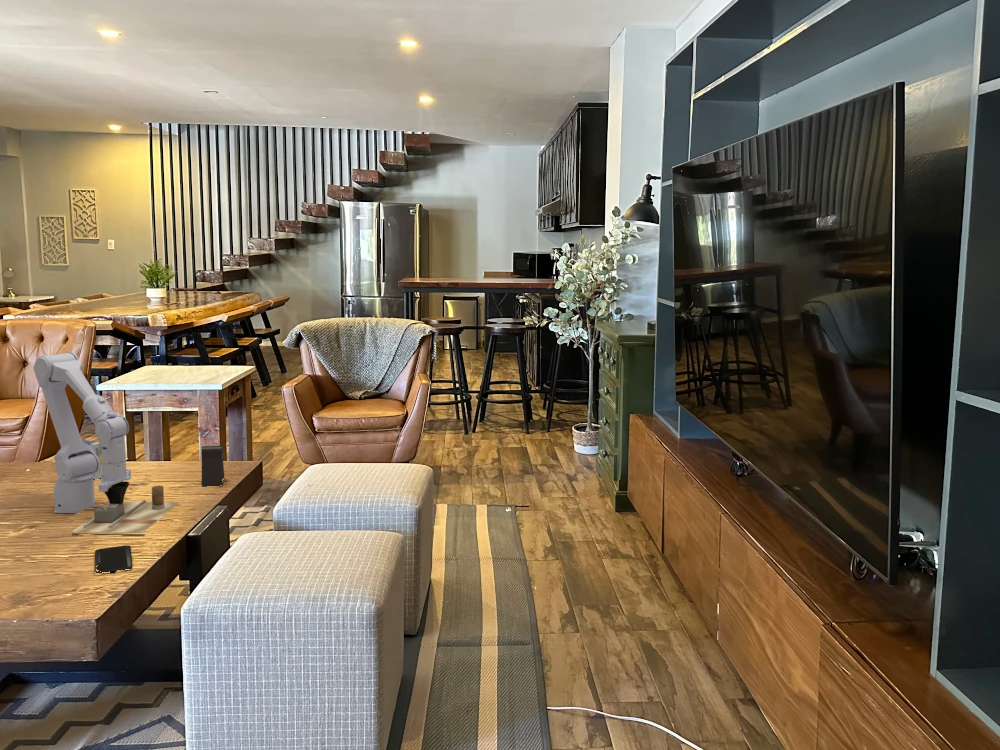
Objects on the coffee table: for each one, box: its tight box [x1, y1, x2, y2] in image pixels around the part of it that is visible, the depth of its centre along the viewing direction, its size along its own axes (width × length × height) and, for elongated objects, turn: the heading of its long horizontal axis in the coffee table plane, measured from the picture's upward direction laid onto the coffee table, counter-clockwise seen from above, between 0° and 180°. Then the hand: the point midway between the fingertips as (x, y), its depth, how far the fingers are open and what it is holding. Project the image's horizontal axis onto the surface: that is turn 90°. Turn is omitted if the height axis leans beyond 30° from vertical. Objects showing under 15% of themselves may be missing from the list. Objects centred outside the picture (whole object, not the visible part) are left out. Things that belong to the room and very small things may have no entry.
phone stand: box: [200, 445, 225, 488], centre depth 241 cm, size 9×6×12 cm, turn 15°
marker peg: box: [151, 485, 165, 510], centre depth 215 cm, size 3×3×6 cm
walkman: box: [77, 439, 103, 480], centre depth 244 cm, size 8×3×12 cm, turn 68°
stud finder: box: [93, 503, 124, 522], centre depth 206 cm, size 5×6×4 cm
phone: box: [94, 544, 134, 573], centre depth 181 cm, size 8×1×15 cm
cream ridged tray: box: [71, 499, 180, 537], centre depth 208 cm, size 18×24×2 cm
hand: (116, 509), depth 210 cm, fingers closed
